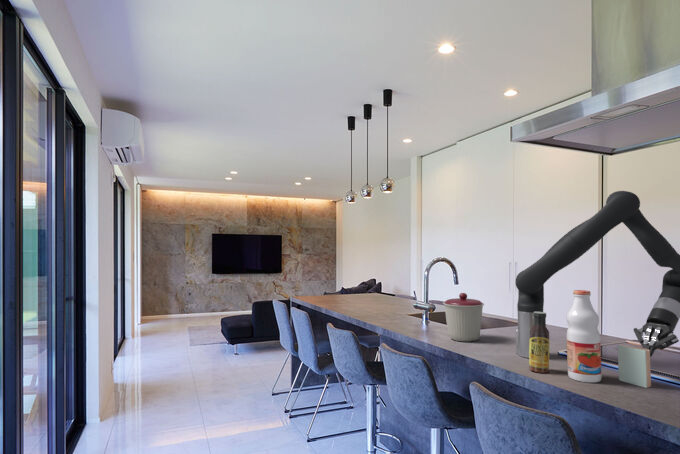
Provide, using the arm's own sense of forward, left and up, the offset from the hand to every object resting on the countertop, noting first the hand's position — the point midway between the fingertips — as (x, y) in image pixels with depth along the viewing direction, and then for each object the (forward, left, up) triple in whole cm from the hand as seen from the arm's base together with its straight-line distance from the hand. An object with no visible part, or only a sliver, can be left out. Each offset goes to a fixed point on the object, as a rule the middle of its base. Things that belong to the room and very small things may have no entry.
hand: (644, 356), depth 133 cm
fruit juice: (-10, -15, -8) cm, 20 cm away
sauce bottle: (-22, -21, -8) cm, 31 cm away
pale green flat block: (0, -6, -7) cm, 9 cm away
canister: (-71, -10, -8) cm, 72 cm away
